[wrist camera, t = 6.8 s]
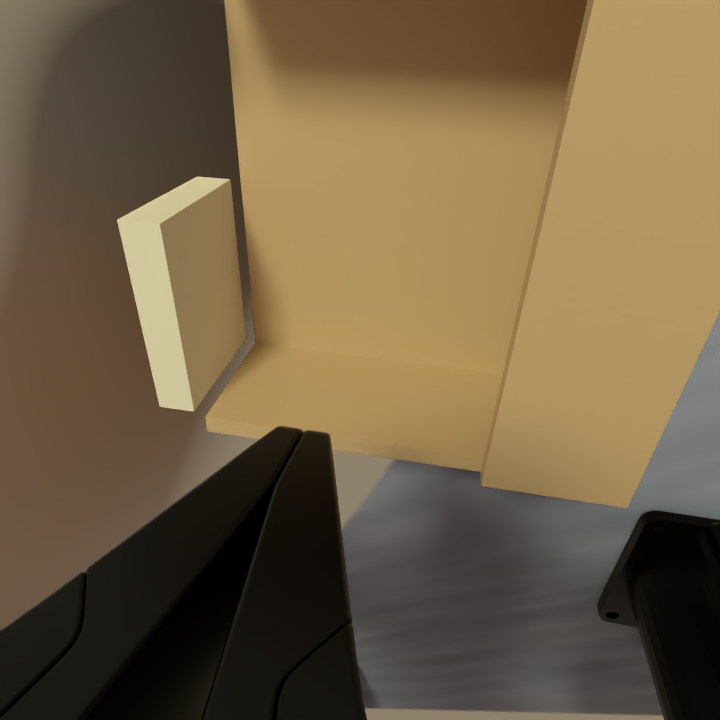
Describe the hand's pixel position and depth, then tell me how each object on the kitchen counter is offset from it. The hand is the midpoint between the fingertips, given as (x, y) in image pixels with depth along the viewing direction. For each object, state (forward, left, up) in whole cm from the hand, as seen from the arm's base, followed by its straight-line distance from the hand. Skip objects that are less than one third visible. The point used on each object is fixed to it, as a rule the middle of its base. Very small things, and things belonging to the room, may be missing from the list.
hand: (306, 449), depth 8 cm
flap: (-1, +5, -8) cm, 10 cm away
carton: (+2, -1, -9) cm, 9 cm away
